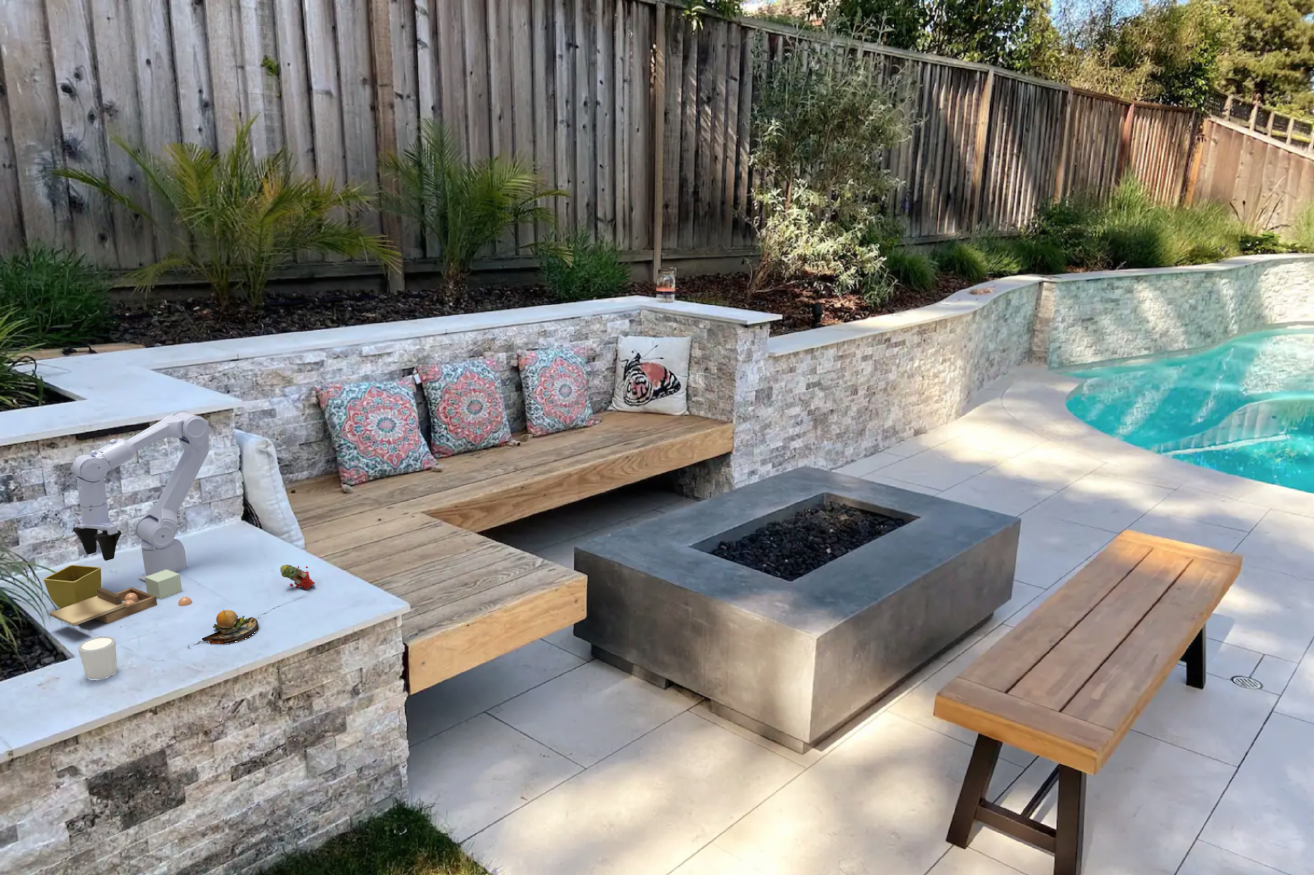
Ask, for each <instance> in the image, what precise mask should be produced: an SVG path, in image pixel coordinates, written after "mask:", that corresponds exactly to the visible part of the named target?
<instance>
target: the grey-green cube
mask: <svg viewBox="0 0 1314 875" xmlns="http://www.w3.org/2000/svg"><path fill="white" fill-rule="evenodd" d="M144 582H145V587H146V593H148V594H151V595H154V596H156V599H159V600H162V599H165V598H168V597H171V596H173V595H175V594H179V593H181V592H183V588H182V580H181V574H180V573H177V572H172V571H170V570H167V569H166V570H163V571H160V572H158V573H155V574H152V575H149V576H146V577H145V581H144Z"/></svg>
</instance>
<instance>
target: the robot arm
mask: <svg viewBox="0 0 1314 875" xmlns="http://www.w3.org/2000/svg"><path fill="white" fill-rule="evenodd" d="M211 432H212V430H211V428H210V426H209V424H208V421H207V420H206V419H205V418H204V417H203V416H200V415H196V414H192V413H190V412H189V411H185V410H179V411H178V410H177V411H176V412H173V413H172V414H169V415H166V416H164V418H162V419H161V420H160V421H158V422H156V423H155V424H153V425H151V426H149V427H147V428H146V429H144V430H142V431H140V432H138V433H137V434H136V435H134V436H132V437H130V438H128V439H124V438H117V439H115V438H112V439H111V440H109V444H106V445H105V446H102V447H100V448H99V449H97V450H96V449H92V450H91V451H90V454H81V455H80V456H77V457H76V458H75V459H74V461H73V462H72V465H71V467H70V470H71V473H72V474H73V475H74V476H76V482H77V493H78V500H79V506H80V507H79V508H80V515H76V516H75V517H74V519H75V524H76V525H77V526H76V527H73V528H72V531H73V532H74V533H75V534H76V536H77V537H78V539H79V540H80V543H81V545H82V547H83V550H84V551H85V553H86V555H91V554H94V553H95V554H96V553H97V549H98V548H97V547H98V546H99V548H100V551H101V555H102V559H103V560H104V561H105V562H107V561H110V560H113V559H115V554H116V548H117V544H118V541H119V539H120V536H121V535H122V531H121V530H119V529H118V525H116V524H115V523H114V522H113V521H112V520H111V518H110V514H109V508H108V501H107V492H106V485H105V479H104V478H105V477H106V475H107V474H108V472H110V471H112V470H114V469H116V468H117V467H119V466H121V465H123V464H125V463H127V462H129V461H131V460H132V459H133V458H134V456H135V453H136V452H137V451H139V450H142V449H143V448H145V447H147V446H150V445H152V444H155V443H156V442H158V441H161V440H163V439H165V438H174V439H178V440H179V442H180V444H181V446H182V448H183V452H182V455H181V456H180V459H179V460H178V462H177V464H176V465H175V468H174V469H173V472H172V473H171V476H170V478H169V479H168V481H167V483H166V485H165V486H164V488H163V491H162V492H161V494H160V496H159V497H158V498H159V499H158V500H157V502H156V504H155V505H154V506H153V507H151V508H150V509H148V510H147V511H146V513H145V515H144V516H143V517H142V518H140V519H139V520H138V521H137V523H136V524H135V528H134V529H135V530H134V531H135V535H136V537H138V538H139V539H140V540H141V543H140V548H141V549H140V550H141V554H142V560H143V567H144V573H145V574H142V575H140V576H138V579H139V580H141V581H144V582H145V577H146V576H149V575H152V574H155V573H158V572H160V571H163V570H166V569H167V570H170V571H172V572H175V573H177V572H178V571H180V570H181V571H182V570H184V569H187V568H188V563H187V562H188V561H187V557H186V549H185V547H184V544H183V542H182V541H181V540H179V539H177V538H175V537H176V529H177V526H178V525H179V523H178V522H179V521H178V516H177V515H178V512H179V510H180V508H181V506H182V504H183V503H184V501H185V499H186V497H187V495H188V493H189V491H190V489H191V487H192V485H193V483H194V481H195V479H196V478H197V475H198V474H199V471H200V470H201V468H202V466H203V465H204V463H205V460H206V458H207V457H208V455H209V452H210V451H209V450H210V448H209V446H210V443H209V442H210V440H209V439H210V437H209V436H210V434H211ZM99 531H101V533H98V532H99ZM97 544H98V546H97Z"/></svg>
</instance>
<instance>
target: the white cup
mask: <svg viewBox="0 0 1314 875" xmlns="http://www.w3.org/2000/svg"><path fill="white" fill-rule="evenodd" d="M116 642H117V641H116V639H115V638H114V637H112V636H98V637H93V638H90V639H87V640H84V641H83V642H82V643H80V644H78V647H77V650H78V655H79V657H80V659H81V664H82V667H83V670H84V673H85V677H86V679H87V678H89V679H103V680H105V679H104V678H106V677H109V678H111V677H112V676H111V675H113V674H114V675H115V673H116V674H117V672H118V664H117V662H118V661H117V660H118V659H117V644H116ZM116 671H117V672H116ZM114 675H113V676H114ZM110 676H111V677H110ZM106 679H107V678H106Z"/></svg>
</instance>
